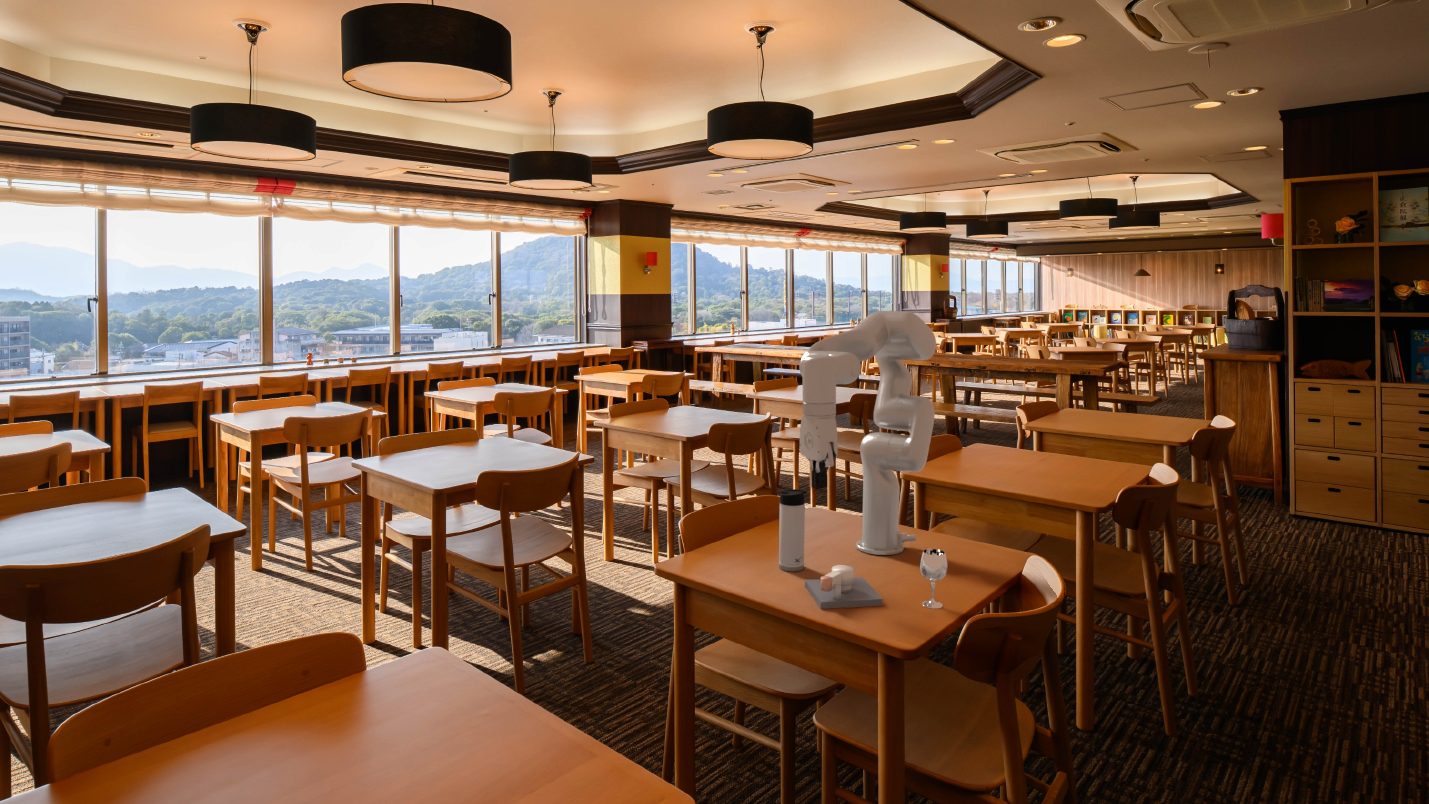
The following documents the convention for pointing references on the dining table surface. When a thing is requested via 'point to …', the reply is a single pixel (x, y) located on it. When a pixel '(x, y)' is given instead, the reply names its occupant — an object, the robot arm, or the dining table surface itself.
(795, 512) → the travel mug
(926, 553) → the wineglass
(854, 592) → the post board
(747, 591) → the dining table surface
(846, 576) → the lever cap
